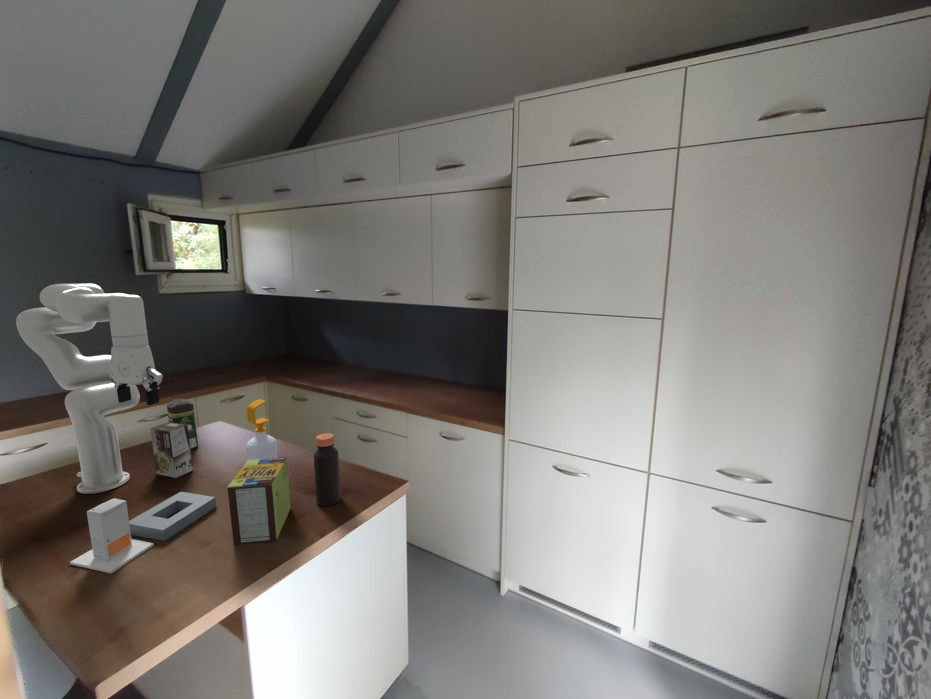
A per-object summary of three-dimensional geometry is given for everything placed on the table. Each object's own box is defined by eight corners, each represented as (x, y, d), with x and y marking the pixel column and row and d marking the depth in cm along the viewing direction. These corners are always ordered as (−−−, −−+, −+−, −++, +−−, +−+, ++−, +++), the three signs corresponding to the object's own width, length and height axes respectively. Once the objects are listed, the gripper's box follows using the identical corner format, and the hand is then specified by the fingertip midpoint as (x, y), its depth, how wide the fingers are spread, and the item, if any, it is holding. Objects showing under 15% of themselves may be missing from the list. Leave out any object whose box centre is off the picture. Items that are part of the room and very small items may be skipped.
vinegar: (312, 500, 123) (308, 436, 120) (333, 492, 128) (329, 430, 125) (323, 509, 119) (319, 443, 115) (345, 500, 124) (342, 436, 120)
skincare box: (107, 561, 96) (99, 514, 94) (93, 558, 97) (85, 511, 95) (133, 545, 102) (127, 500, 100) (120, 542, 103) (113, 497, 101)
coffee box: (194, 470, 142) (188, 424, 139) (175, 478, 136) (169, 431, 133) (174, 465, 145) (168, 421, 142) (155, 474, 139) (149, 427, 136)
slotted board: (126, 533, 107) (125, 523, 107) (182, 501, 123) (180, 491, 122) (164, 541, 104) (163, 530, 104) (216, 506, 120) (215, 497, 119)
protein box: (291, 507, 120) (287, 456, 117) (277, 541, 105) (272, 483, 102) (252, 510, 118) (247, 459, 115) (231, 545, 103) (225, 487, 100)
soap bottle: (284, 469, 143) (279, 399, 138) (258, 480, 135) (252, 407, 131) (268, 462, 147) (262, 395, 143) (243, 473, 140) (236, 402, 135)
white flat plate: (70, 564, 96) (70, 561, 96) (115, 537, 106) (115, 535, 105) (111, 573, 93) (110, 571, 93) (153, 545, 103) (153, 543, 103)
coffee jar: (169, 446, 160) (163, 399, 157) (193, 440, 166) (188, 395, 162) (176, 454, 153) (170, 405, 150) (200, 448, 159) (195, 400, 156)
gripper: (90, 342, 111) (100, 404, 114) (142, 345, 107) (151, 409, 110) (119, 337, 118) (128, 396, 121) (169, 340, 114) (176, 401, 117)
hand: (139, 402), depth 116 cm, fingers open, 9 cm apart
